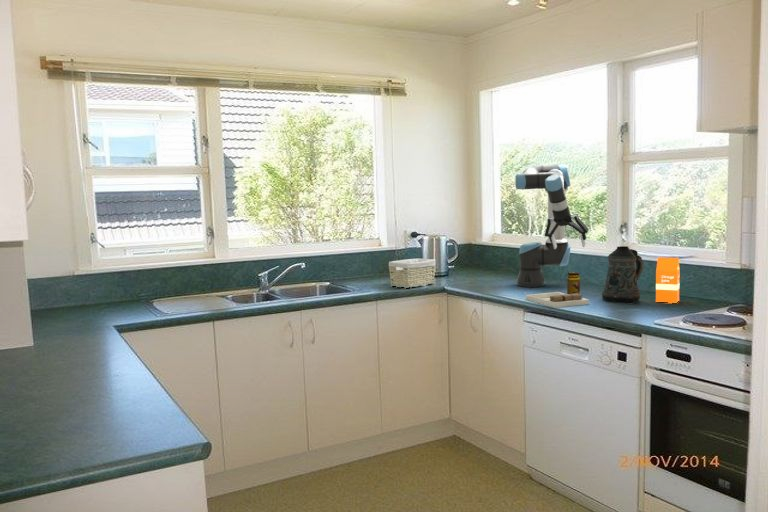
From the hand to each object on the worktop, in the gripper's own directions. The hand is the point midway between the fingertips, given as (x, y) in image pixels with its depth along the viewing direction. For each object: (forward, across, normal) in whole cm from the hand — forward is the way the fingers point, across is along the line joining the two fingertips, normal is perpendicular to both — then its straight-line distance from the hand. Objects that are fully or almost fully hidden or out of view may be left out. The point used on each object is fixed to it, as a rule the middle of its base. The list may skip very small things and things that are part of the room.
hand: (569, 246), depth 299 cm
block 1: (+11, -2, -32) cm, 34 cm away
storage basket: (+18, -92, -1) cm, 94 cm away
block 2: (+13, +2, -29) cm, 32 cm away
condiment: (+23, -2, -9) cm, 25 cm away
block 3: (+15, +5, -26) cm, 30 cm away
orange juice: (+28, +40, -9) cm, 50 cm away
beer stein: (+25, +21, -11) cm, 34 cm away
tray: (+15, -4, -25) cm, 29 cm away
